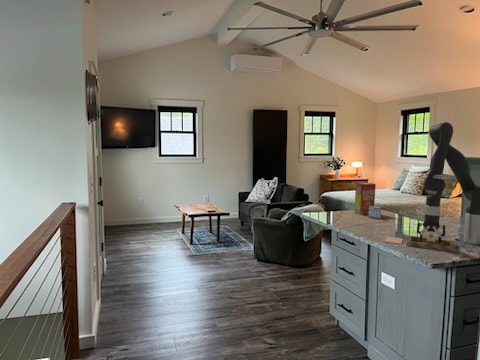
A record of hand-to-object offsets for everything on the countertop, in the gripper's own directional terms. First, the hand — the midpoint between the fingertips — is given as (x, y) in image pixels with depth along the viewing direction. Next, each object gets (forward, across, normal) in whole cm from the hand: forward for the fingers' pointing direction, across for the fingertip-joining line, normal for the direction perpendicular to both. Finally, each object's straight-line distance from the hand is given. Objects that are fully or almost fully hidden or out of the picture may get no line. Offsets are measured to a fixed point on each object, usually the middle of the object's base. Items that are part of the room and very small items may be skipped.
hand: (430, 241), depth 203 cm
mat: (+2, +19, 0) cm, 19 cm away
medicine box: (+2, +38, -65) cm, 75 cm away
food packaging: (+2, +48, -80) cm, 93 cm away
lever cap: (+2, 0, 0) cm, 2 cm away
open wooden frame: (+2, 0, 0) cm, 2 cm away
